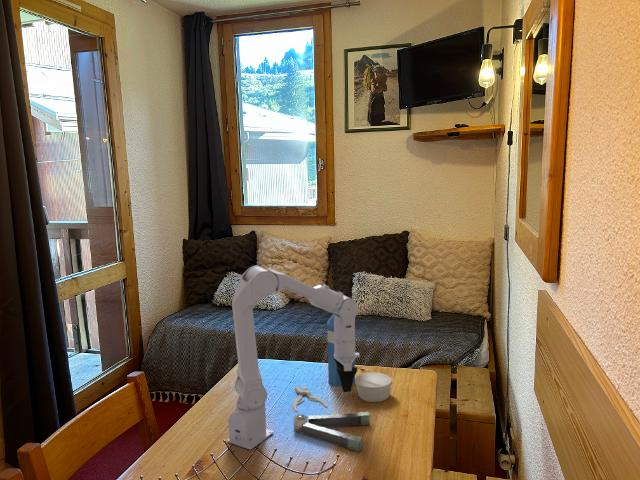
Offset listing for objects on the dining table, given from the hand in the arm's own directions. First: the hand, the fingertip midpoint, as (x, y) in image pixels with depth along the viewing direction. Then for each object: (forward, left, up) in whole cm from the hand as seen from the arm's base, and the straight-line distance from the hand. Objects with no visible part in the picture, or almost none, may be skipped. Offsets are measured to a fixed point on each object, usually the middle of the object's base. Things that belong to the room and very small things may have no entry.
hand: (345, 386), depth 133 cm
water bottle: (+20, +13, -9) cm, 25 cm away
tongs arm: (-6, -1, -8) cm, 10 cm away
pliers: (+3, +16, -9) cm, 18 cm away
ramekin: (+15, -1, -9) cm, 17 cm away
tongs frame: (-13, -2, -8) cm, 16 cm away
